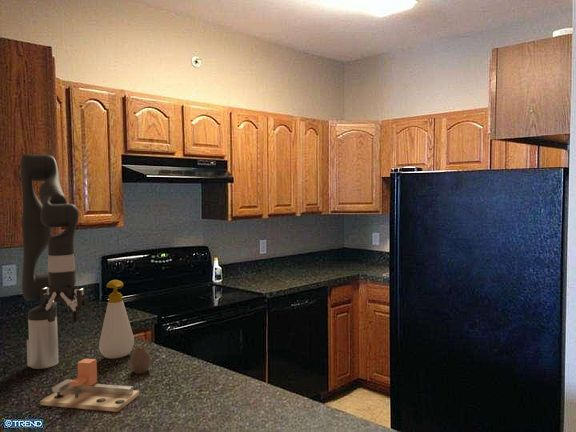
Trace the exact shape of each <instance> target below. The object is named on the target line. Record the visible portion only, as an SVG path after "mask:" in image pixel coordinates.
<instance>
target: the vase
mask: <svg viewBox="0 0 576 432" xmlns="http://www.w3.org/2000/svg"><path fill="white" fill-rule="evenodd" d="M129 364H130V365H129V366H130V369H131V371H132V372H134V373H135V374H145V373H146V372H147V371H148V370H150V367H151V365H152V356H151V355H150V352H149V351H148V350H147V349H146V347H145V345H142V344H141V345H137V346H136V347H135V349H134V351H133V352H132V354H131V356H130V360H129Z"/></svg>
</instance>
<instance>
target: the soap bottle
mask: <svg viewBox="0 0 576 432" xmlns="http://www.w3.org/2000/svg"><path fill="white" fill-rule="evenodd" d="M123 287H124V283H123V281H121V280H118V279H112V280H110V281H109V282H107V284H106V288H110V289H112V290H113V291H112V293H110V294H108V302H107V306H106V311H105V314H104V319H103V324H102V328H101V333H100V337H99V338H100V339H99V343H98V350H99V351H100V354H101V355H102V356H103V357H104V358H106V359H111V360H112V359H120V358H124V357H126V356H127V355H129V354H130V353H131V351H132V350H133V348H134V345H135V337H134V334H133V330H132V327H131V326H132V325H131V324H130V320H129V317H128V313H127V310H126V307H125V303H124V301H123V294H122V293H121V292H118V290H119V289H122V288H123Z"/></svg>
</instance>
